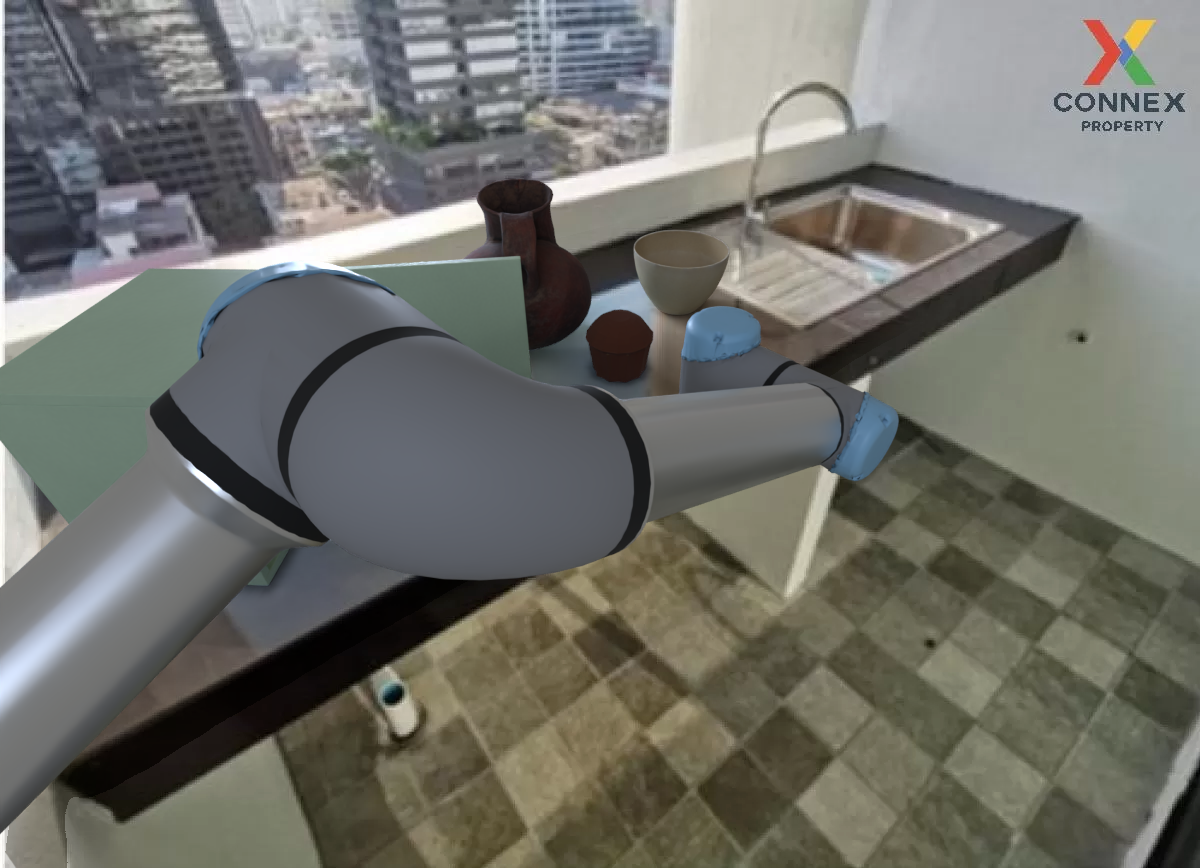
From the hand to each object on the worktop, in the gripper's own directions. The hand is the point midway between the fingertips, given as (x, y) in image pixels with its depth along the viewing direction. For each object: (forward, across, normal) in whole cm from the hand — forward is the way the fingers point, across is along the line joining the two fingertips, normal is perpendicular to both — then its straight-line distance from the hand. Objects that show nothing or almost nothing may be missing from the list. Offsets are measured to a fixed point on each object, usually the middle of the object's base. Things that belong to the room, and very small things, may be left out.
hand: (442, 435), depth 71 cm
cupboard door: (+6, +18, -12) cm, 23 cm away
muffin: (-20, +33, -12) cm, 41 cm away
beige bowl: (-32, +57, -12) cm, 66 cm away
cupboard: (+28, 0, -12) cm, 30 cm away
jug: (-3, +45, -12) cm, 46 cm away
